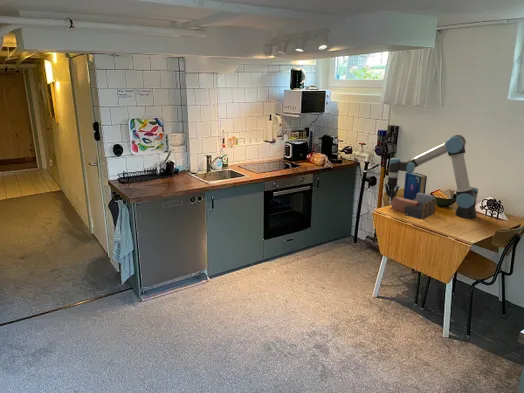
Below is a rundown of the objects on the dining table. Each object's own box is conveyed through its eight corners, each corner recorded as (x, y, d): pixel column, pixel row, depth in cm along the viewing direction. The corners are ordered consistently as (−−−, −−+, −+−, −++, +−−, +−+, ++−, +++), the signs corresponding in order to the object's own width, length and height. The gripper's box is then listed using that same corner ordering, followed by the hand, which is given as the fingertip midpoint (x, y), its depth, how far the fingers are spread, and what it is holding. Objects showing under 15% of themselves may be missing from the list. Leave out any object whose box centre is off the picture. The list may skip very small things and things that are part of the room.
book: (401, 198, 357) (404, 171, 350) (408, 197, 359) (411, 170, 352) (417, 204, 337) (420, 176, 331) (424, 204, 339) (427, 175, 333)
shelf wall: (432, 213, 315) (434, 199, 312) (434, 213, 314) (436, 199, 311) (421, 218, 302) (423, 203, 299) (423, 219, 301) (424, 204, 298)
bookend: (405, 212, 317) (405, 204, 315) (424, 217, 306) (425, 208, 304) (400, 214, 313) (401, 205, 311) (420, 219, 301) (421, 210, 299)
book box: (395, 207, 331) (396, 196, 329) (418, 212, 317) (419, 201, 314) (391, 208, 327) (392, 198, 325) (414, 214, 313) (415, 203, 311)
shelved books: (418, 209, 324) (420, 192, 320) (432, 213, 316) (435, 195, 311) (414, 211, 320) (416, 193, 316) (429, 214, 312) (431, 196, 308)
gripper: (383, 176, 326) (380, 203, 333) (397, 179, 317) (394, 207, 324) (388, 174, 331) (385, 201, 338) (402, 177, 322) (399, 205, 328)
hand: (390, 204), depth 331 cm, fingers closed
